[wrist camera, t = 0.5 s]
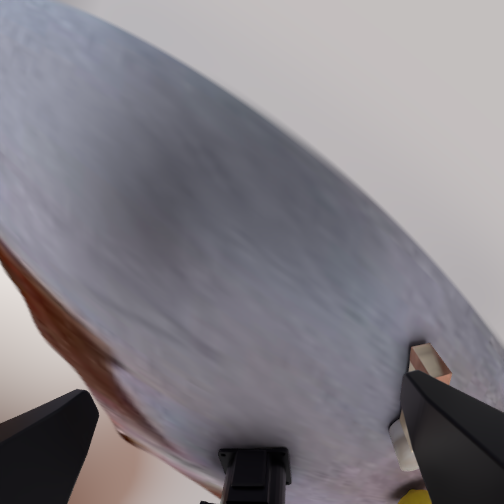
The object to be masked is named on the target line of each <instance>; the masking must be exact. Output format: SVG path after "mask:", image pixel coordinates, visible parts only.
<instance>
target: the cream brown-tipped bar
mask: <svg viewBox="0 0 504 504" xmlns="http://www.w3.org/2000/svg"><path fill="white" fill-rule="evenodd" d="M414 370H420V371H422V372H424V373H426V374H428V375H430V376H432V377H434V378H436V379H438V380H440V381H442V382H444V383H446V384H448V385H449V383H450V379H451V375H452V373H451V371H450V370H449V368H448V367H447V366H446V364H445V363H444V362H443V360H442V359H441V357H440V356H439V355H438V353H437V352H436V351H435V349H434V348H433V347H432V345H431V344H430V343H427V344H422V345H417V346H413V347H411V352H410V365H409V372H410V371H414ZM389 434H390V437H391V440H392V443H393V446H394V449H395V452H396V456H397V459H398V462H399V465H400V468H401V470H403V471H413V470H416V469H418V468H419V466H418V463H417V461H416V458H415V455H414V452H413V450H412V446H411V442H410V438H409V434H408V430H407V426H406V422H405V418H404V414H403V411H401V415H400V419H398V420H397V421H395V422H394V423H393V424H392V425H391V427H390V429H389Z"/></svg>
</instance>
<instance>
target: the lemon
mask: <svg viewBox="0 0 504 504" xmlns="http://www.w3.org/2000/svg"><path fill="white" fill-rule="evenodd" d="M398 504H432V503H431V500H430V497H429V494H428V491H427V490H414V489H411V490H409V491H408V493H407V494H406V495H405V496H403V497H402V498H401V500H400V501H399V502H398Z"/></svg>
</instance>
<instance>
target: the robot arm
mask: <svg viewBox="0 0 504 504" xmlns="http://www.w3.org/2000/svg"><path fill="white" fill-rule="evenodd" d="M400 402H401V407H402V411H403V414H404V418H405V422H406V426H407V430H408V434H409V438H410V442H411V446H412V450H413V452H414V455H415V458H416V461H417V463H418V466H419V469H420V471H421V474H422V477H423V480H424V482H425V485H426V488H427V491H428V494H429V497H430V500H431V503H432V504H504V412H502V411H500V410H498V409H496V408H494V407H492V406H490V405H487V404H485V403H483V402H481V401H479V400H477V399H475V398H473V397H471V396H469V395H467V394H465V393H463V392H461V391H459V390H457V389H455V388H454V387H452V386H450V385H448V384H446V383H444V382H442V381H440V380H438V379H436V378H434V377H432V376H430V375H428V374H426V373H424V372H422V371H420V370H414V371H410V372H406V373H405V374H404V375H403V380H402V388H401V395H400ZM98 418H99V412H98V409H97V407H96V405H95V403H94V401H93V399H92V397H91V395H90V393H89V392H88V391H86V390H79V389H76V390H74V391H72V392H69V393H67V394H65V395H63V396H61V397H59V398H56V399H54V400H52V401H50V402H48V403H46V404H43V405H41V406H39V407H37V408H35V409H32V410H30V411H28V412H26V413H23V414H21V415H19V416H17V417H14V418H12V419H10V420H7V421H5V422H3V423H0V504H68V501H69V498H70V496H71V493H72V491H73V488H74V485H75V483H76V480H77V478H78V476H79V473H80V470H81V468H82V466H83V463H84V461H85V458H86V456H87V453H88V450H89V447H90V443H91V440H92V437H93V434H94V431H95V427H96V424H97V421H98ZM218 456H219V458H220V461H221V464H222V466H223V469H224V472H225V474H226V477H225V482H224V487H223V492H222V497H221V502H220V504H285V486H286V485H290V484H291V483H292V480H291V470H290V461H289V452H288V449H286V448H272V449H220V450H219V453H218ZM200 504H214V503H208V502H206V501H201V502H200Z"/></svg>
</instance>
